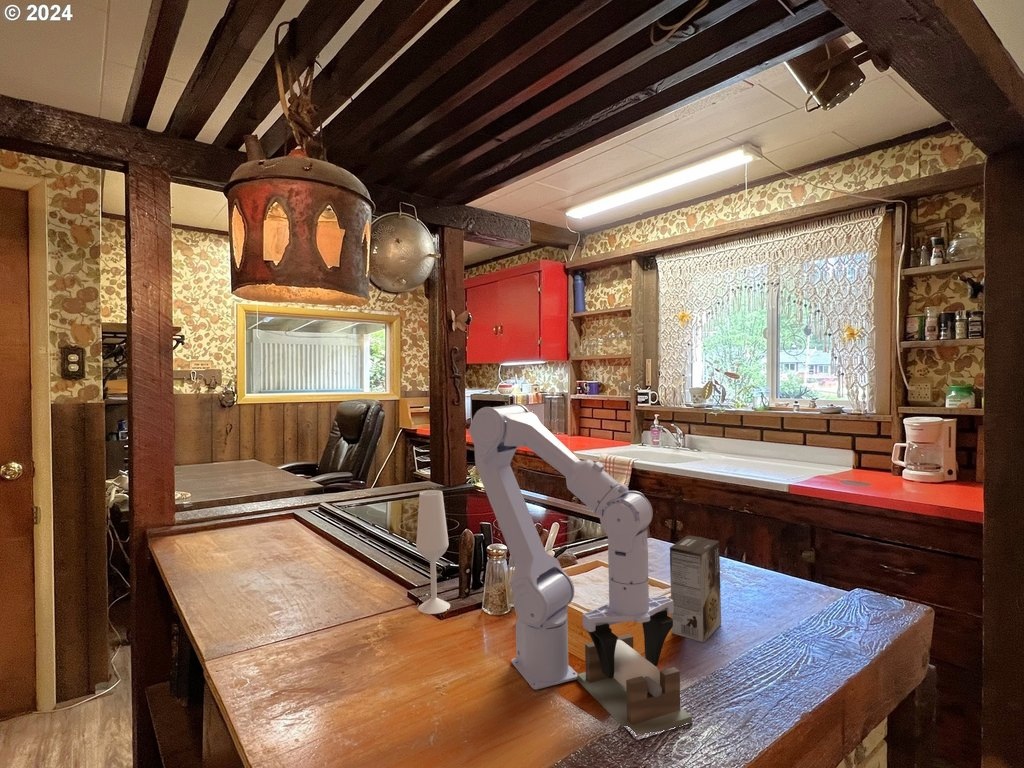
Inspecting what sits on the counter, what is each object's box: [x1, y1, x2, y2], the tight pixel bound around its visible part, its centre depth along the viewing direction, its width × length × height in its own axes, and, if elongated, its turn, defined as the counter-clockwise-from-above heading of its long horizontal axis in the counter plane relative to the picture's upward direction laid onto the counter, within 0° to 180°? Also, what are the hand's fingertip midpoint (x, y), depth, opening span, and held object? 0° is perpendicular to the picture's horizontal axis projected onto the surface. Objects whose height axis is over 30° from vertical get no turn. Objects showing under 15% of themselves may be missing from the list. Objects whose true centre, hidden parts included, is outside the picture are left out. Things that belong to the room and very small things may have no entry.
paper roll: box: [614, 640, 662, 697], centre depth 83 cm, size 13×5×5 cm, turn 22°
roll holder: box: [576, 633, 693, 735], centre depth 83 cm, size 16×9×6 cm, turn 22°
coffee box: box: [669, 535, 722, 643], centre depth 105 cm, size 9×6×16 cm
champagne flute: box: [415, 489, 451, 615], centre depth 117 cm, size 7×7×24 cm
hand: (630, 668), depth 83 cm, fingers open, 7 cm apart
